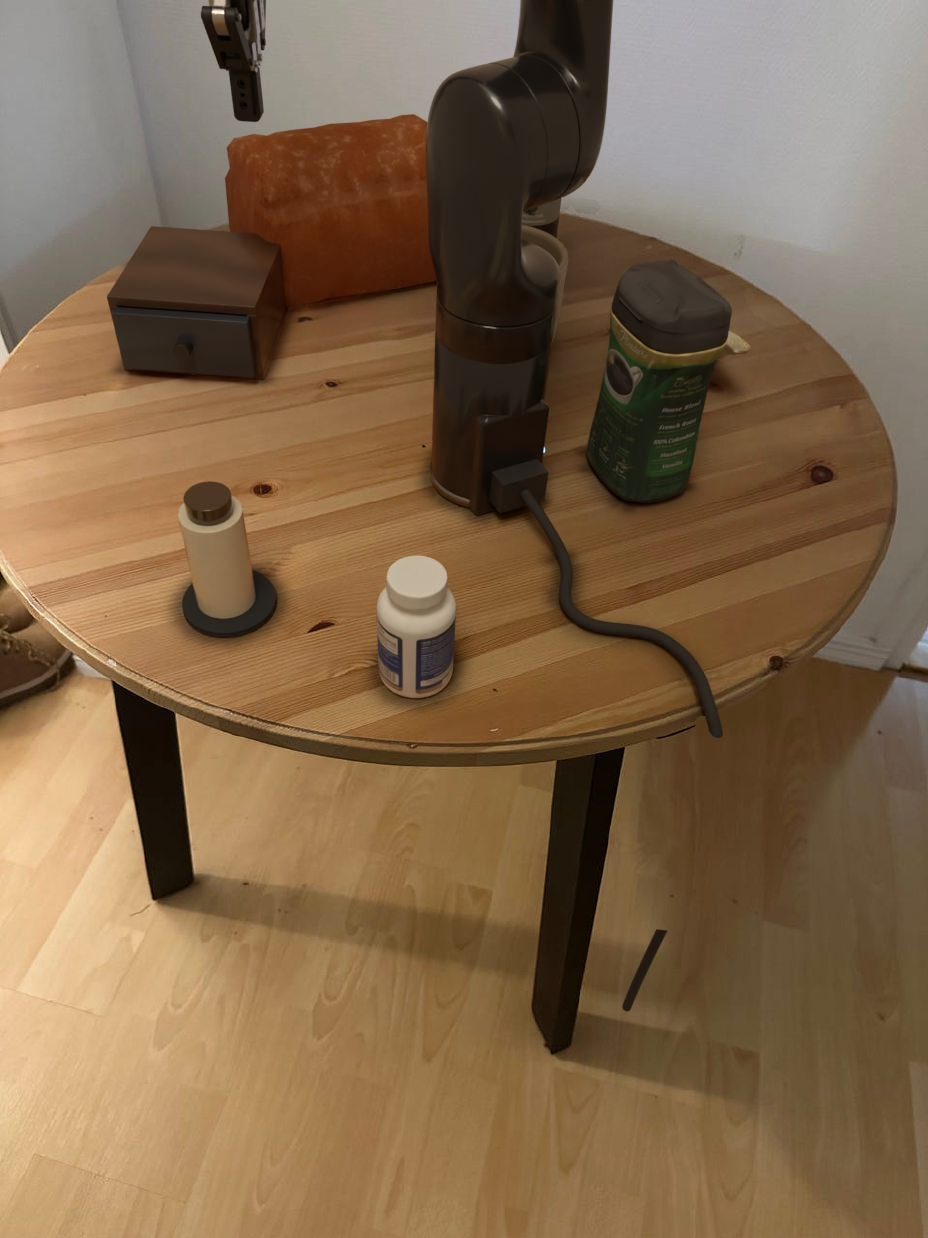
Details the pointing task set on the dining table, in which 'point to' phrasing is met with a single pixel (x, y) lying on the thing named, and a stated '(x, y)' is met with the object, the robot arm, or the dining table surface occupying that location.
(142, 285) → the cabinet
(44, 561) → the dining table surface
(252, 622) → the coaster
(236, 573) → the cream bottle
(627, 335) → the coffee jar
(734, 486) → the dining table surface
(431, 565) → the pill bottle
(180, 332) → the drawer
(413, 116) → the bread
